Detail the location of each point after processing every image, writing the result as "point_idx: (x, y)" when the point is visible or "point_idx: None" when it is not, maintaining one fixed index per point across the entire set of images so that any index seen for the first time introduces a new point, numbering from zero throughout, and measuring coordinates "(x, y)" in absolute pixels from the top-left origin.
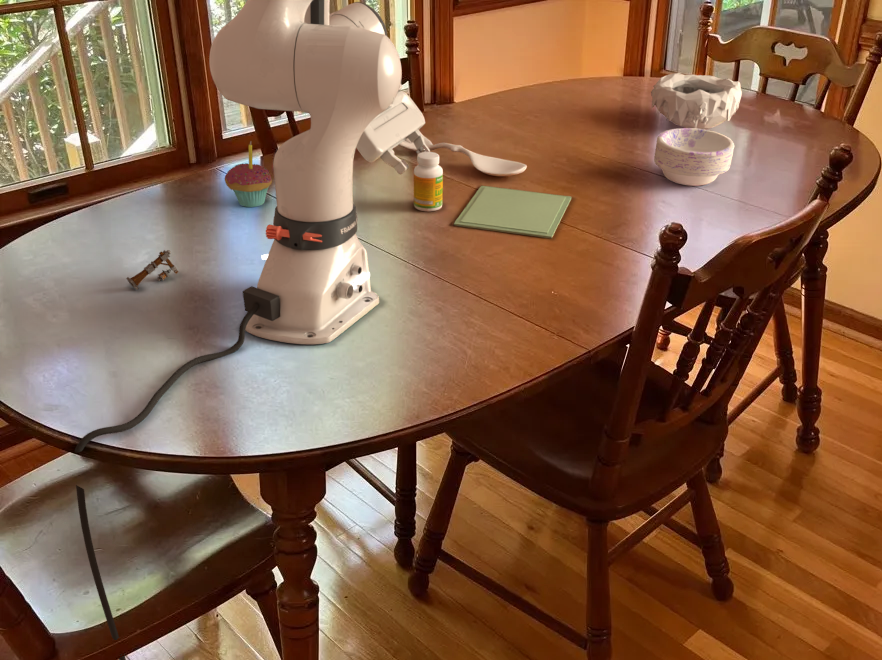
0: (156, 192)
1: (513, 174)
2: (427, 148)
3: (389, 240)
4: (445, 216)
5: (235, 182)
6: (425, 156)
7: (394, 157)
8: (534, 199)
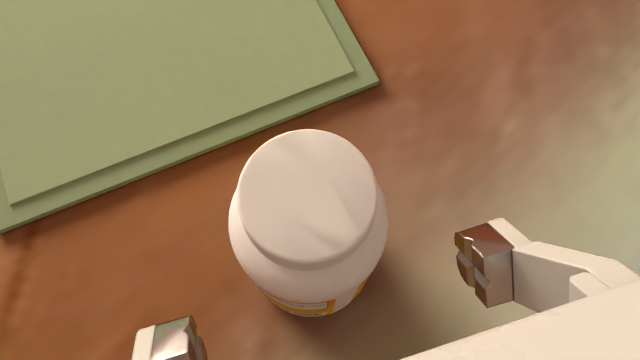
0: None
1: None
2: (147, 339)
3: (631, 156)
4: None
5: None
6: (337, 190)
7: (585, 254)
8: (27, 12)
